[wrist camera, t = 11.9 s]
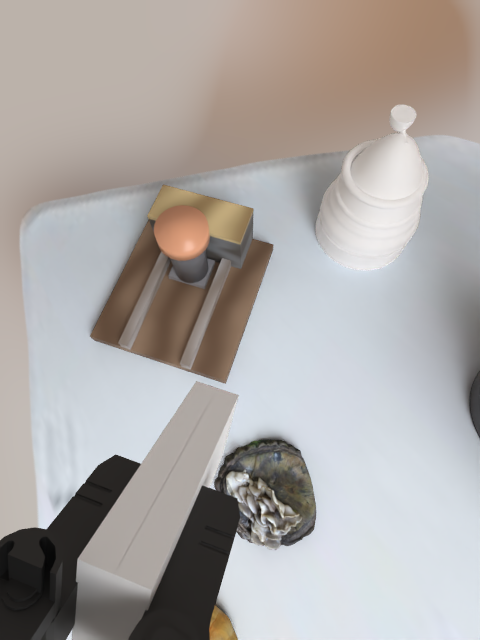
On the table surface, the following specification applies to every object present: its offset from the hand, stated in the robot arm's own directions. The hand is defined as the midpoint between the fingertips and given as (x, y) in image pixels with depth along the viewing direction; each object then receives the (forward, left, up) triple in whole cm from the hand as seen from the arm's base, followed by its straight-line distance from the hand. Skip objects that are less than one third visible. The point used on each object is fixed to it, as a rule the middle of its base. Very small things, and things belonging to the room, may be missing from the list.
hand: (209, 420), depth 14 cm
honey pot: (-7, -35, -34) cm, 50 cm away
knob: (+13, -21, -33) cm, 41 cm away
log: (-4, +2, -35) cm, 35 cm away
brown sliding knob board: (+13, -18, -34) cm, 41 cm away
